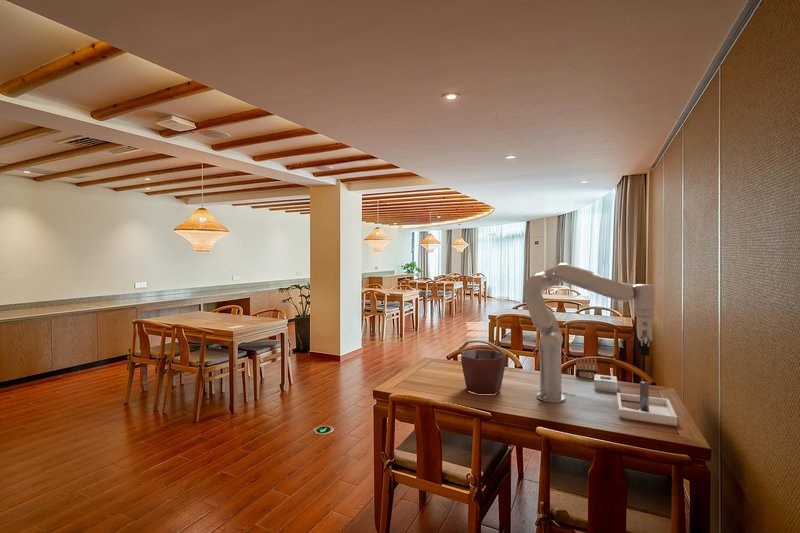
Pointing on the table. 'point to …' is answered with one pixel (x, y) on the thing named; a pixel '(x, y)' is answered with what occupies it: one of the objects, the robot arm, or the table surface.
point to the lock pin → (644, 396)
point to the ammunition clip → (586, 368)
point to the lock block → (605, 383)
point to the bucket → (483, 368)
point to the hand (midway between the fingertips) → (643, 352)
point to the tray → (657, 412)
